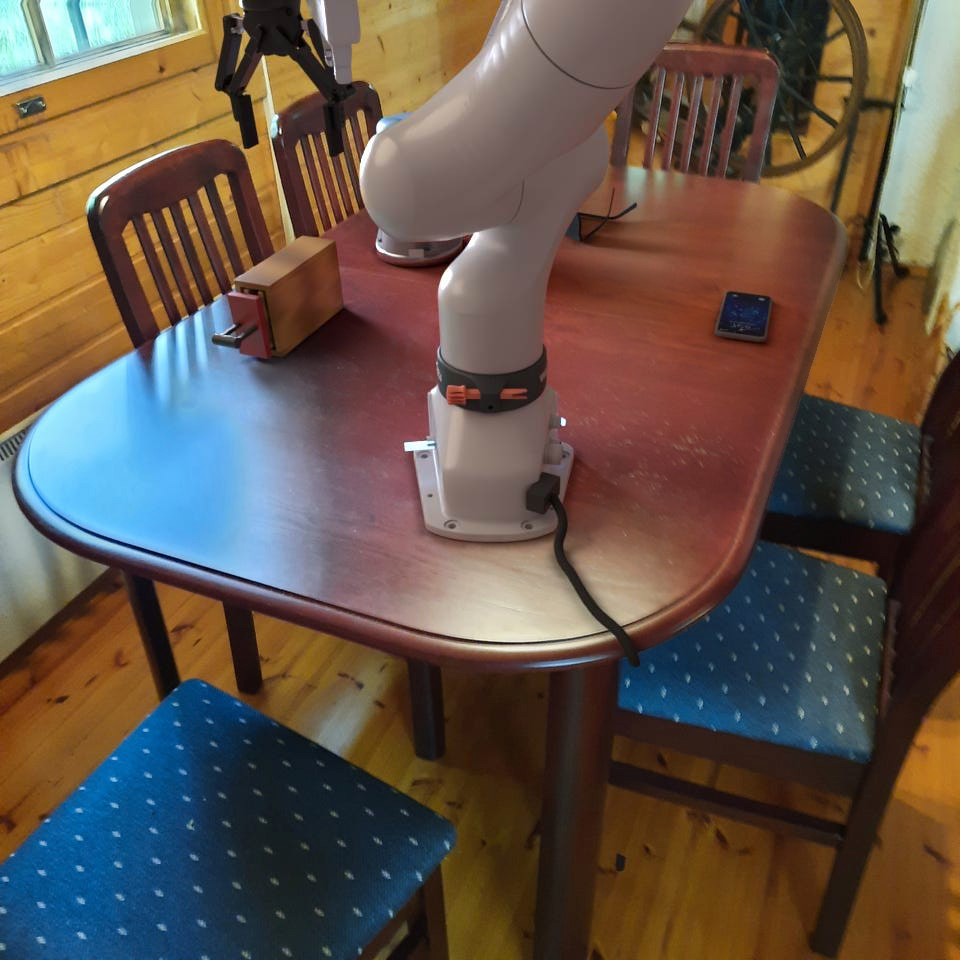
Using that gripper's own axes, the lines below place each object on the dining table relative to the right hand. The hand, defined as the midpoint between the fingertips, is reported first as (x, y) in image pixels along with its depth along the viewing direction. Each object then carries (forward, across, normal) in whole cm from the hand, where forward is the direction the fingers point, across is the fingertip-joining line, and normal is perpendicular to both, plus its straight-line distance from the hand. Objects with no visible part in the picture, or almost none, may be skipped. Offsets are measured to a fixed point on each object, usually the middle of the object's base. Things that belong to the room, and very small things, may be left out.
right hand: (338, 73), depth 100 cm
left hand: (+12, +14, +6) cm, 19 cm away
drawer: (+36, +6, +13) cm, 39 cm away
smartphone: (+37, -6, -56) cm, 67 cm away
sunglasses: (+37, +38, -48) cm, 71 cm away
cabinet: (+37, +11, +9) cm, 40 cm away
